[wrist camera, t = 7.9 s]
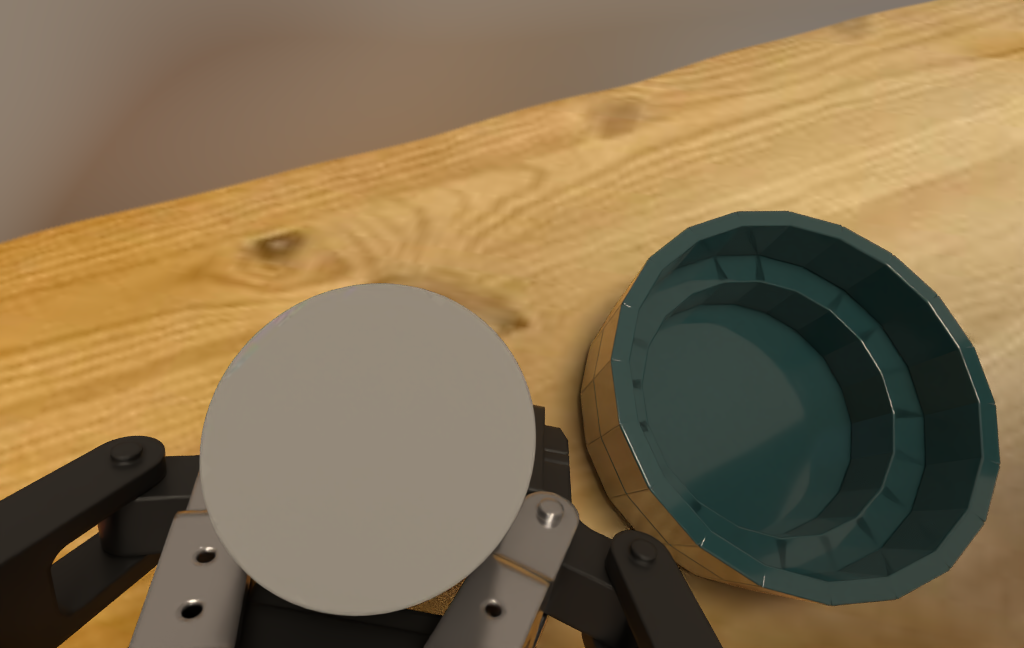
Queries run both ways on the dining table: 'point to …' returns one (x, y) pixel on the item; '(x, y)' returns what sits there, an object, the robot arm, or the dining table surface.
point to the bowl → (792, 412)
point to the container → (367, 449)
